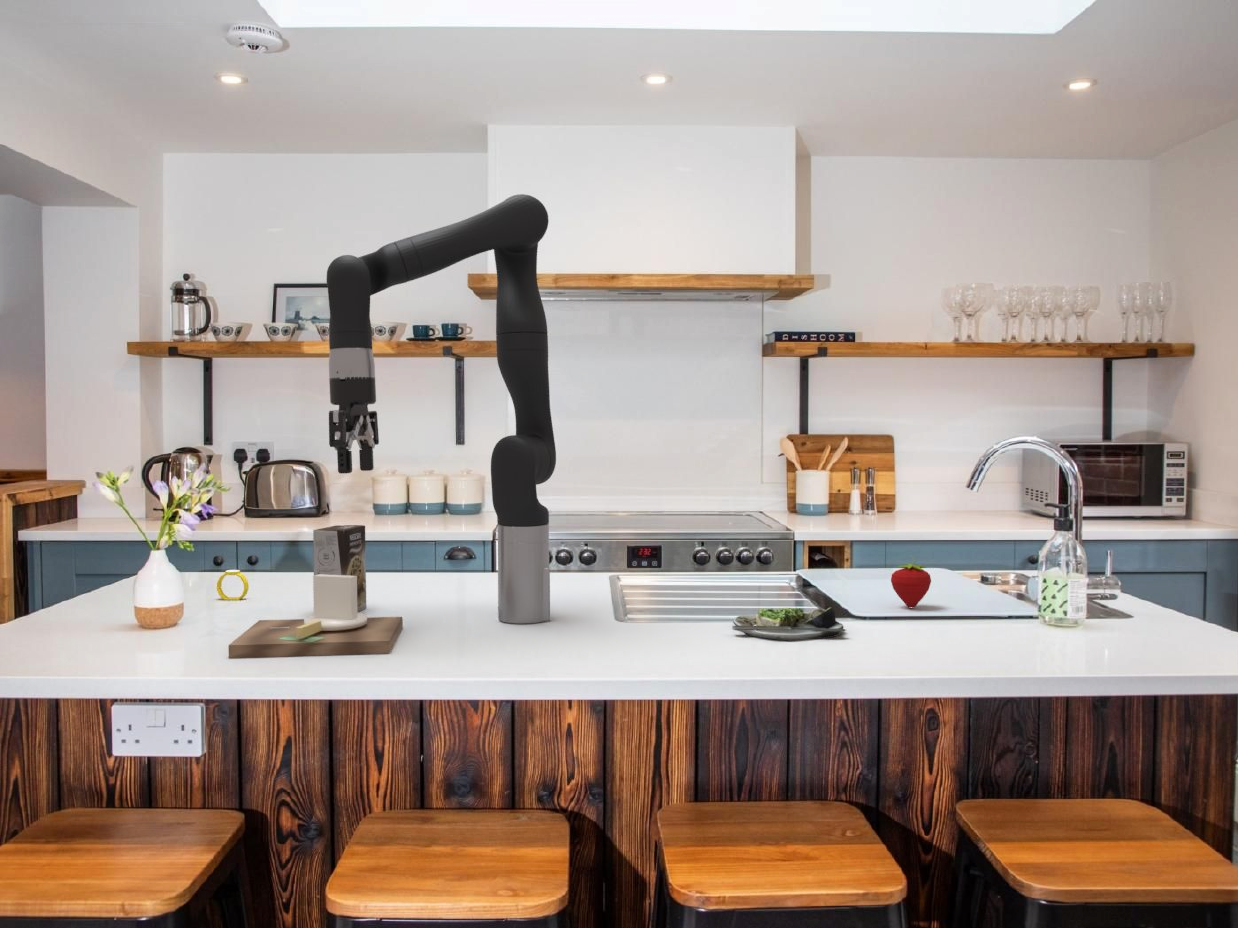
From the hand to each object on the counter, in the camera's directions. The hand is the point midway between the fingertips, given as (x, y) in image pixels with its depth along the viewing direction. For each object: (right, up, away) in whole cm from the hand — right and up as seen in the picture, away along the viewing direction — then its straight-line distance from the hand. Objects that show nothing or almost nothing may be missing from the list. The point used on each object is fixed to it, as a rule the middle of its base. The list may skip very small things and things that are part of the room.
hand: (356, 471), depth 166 cm
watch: (-33, -26, +30) cm, 52 cm away
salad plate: (+74, -28, +1) cm, 79 cm away
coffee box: (-7, -27, +17) cm, 32 cm away
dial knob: (-3, -25, -8) cm, 27 cm away
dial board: (-4, -28, -7) cm, 29 cm away
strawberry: (+100, -26, +19) cm, 105 cm away
